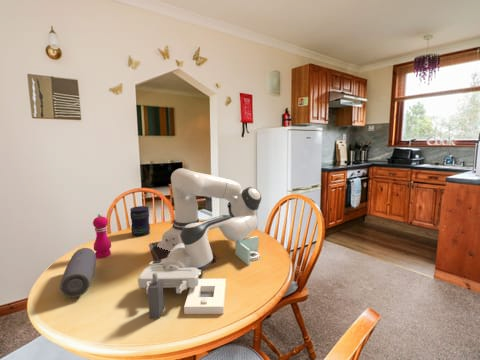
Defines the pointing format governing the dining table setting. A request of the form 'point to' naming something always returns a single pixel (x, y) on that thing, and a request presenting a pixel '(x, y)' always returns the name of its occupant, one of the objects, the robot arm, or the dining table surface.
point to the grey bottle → (155, 297)
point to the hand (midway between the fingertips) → (163, 291)
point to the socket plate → (206, 297)
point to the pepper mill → (101, 237)
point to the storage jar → (140, 221)
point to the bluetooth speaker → (78, 273)
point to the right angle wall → (247, 249)
